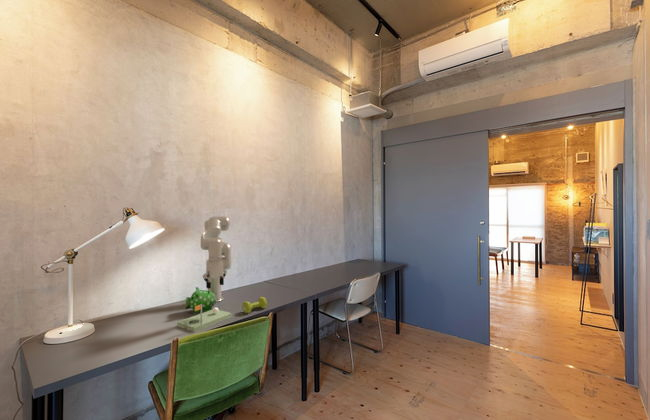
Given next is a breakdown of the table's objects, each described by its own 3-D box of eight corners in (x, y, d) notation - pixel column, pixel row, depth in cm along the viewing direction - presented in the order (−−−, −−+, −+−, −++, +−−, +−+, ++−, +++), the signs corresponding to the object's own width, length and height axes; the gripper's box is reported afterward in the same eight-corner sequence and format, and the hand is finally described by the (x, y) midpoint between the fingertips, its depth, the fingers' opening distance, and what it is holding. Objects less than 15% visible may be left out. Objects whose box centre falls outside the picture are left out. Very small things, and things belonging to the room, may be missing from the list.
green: (177, 326, 171) (177, 302, 171) (214, 312, 193) (214, 291, 193) (194, 332, 162) (194, 306, 162) (231, 317, 185) (231, 295, 185)
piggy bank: (187, 309, 199) (186, 287, 199) (215, 306, 206) (215, 284, 205) (185, 316, 186) (185, 293, 186) (215, 313, 192) (215, 290, 192)
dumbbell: (247, 315, 189) (247, 303, 189) (240, 312, 194) (240, 301, 194) (268, 308, 201) (268, 298, 201) (261, 305, 207) (261, 295, 206)
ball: (210, 314, 183) (210, 307, 183) (215, 312, 186) (215, 305, 186) (214, 315, 181) (214, 308, 181) (220, 313, 184) (220, 307, 184)
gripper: (222, 256, 193) (222, 282, 193) (199, 260, 178) (199, 288, 178) (230, 257, 189) (230, 284, 189) (207, 261, 174) (207, 290, 174)
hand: (215, 286), depth 183 cm, fingers open, 9 cm apart
